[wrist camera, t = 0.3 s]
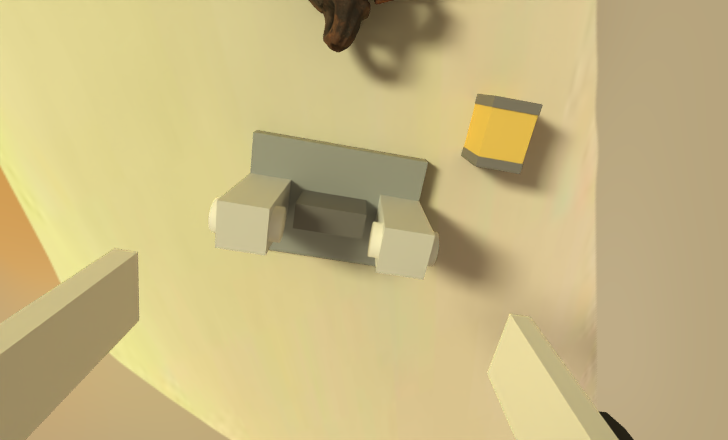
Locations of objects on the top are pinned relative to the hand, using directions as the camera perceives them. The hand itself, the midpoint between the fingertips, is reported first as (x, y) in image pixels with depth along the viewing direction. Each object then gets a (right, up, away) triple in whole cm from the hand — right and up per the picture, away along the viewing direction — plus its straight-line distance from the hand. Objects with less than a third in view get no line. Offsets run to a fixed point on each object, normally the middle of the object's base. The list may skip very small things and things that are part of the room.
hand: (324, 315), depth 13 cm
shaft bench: (-2, +5, +26) cm, 27 cm away
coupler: (+14, +12, +23) cm, 30 cm away
